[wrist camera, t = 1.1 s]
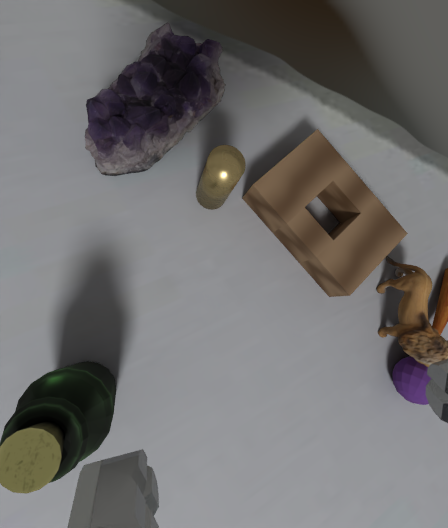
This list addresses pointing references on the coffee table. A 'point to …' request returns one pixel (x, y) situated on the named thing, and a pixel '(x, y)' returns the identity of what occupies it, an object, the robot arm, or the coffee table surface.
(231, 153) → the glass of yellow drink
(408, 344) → the lion figurine
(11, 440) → the potion bottle
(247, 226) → the coffee table surface
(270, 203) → the walnut hole block
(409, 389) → the purple and orange maraca
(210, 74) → the geode
